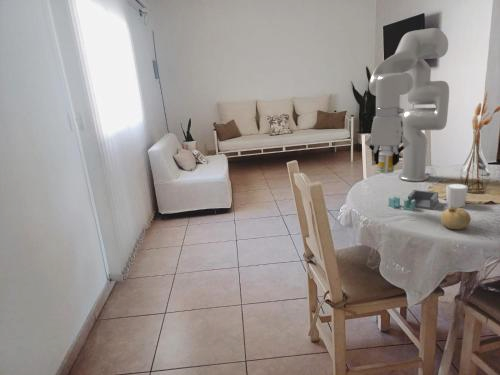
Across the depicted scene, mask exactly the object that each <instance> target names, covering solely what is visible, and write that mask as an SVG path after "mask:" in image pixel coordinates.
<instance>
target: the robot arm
mask: <svg viewBox="0 0 500 375" xmlns="http://www.w3.org/2000/svg"><path fill="white" fill-rule="evenodd" d="M448 49H449V39H448V37H447V35H446V34H445V33H444V31H442V30H441V29H439V28H436V27H430V28H425V29H418V30H417V29H415V30H412V31H408V32H406V33H405V34H404V35H403V36H402V37H401V39H400V41H399V43H398V45H397V48H396V50H395V52H394V54H393V55H392V54H391V55H390V56H389V57H388V58H386V59H384V60H383V61H382V62H380V63H379V64H378V65H377V66H376V67H375V68H374V70H373V72H372V74H371V77H370V79H369V83H368V90H369V92H370V94H371V95H372V96H375V116H374V117H373V119H372V120H373V121H372V124H371V133H370V134H371V135H370V136H369V137H368V139H367V140H366V141H365V142H364V143H365V145H366V146H367V147H368V148H369V149H370V150H371V152H372V153H373V160H374V163H375V165H378V156H379V152H380V149H381V146H393V151H394V154H393V165H394V166H396V165H398V163H399V162H400V154H401V152H403V153H402V173H399V174H398V179H399V180H401V181H405V182H424V181H427V180H429V179H430V176H429V174H427V173H426V167H427V152H428V151H427V148H428V147H427V146H428V139H427V137H426V135H425V134H424V132H423V131H442V130H444V129H445V128H446V126H447V122H448V114H449V113H448V112H449V102H450V86H449V84H448V82H446V81H444V80H431V74H432V71H431V70H432V68H431V67H430V65H429V63H427V62H426V60H428V59H437V58H438V59H439V58H442V57H444V56H445V55H446V54H447V52H448ZM406 94H407V102H408V103H409V105H415V106H417V105H418V106H421V105H423V106H424V105H426V106H427V105H434V106H435V107H412V108H409V109H408V108H407V109H406V110H405V108H401V106H400V102H401V100H400V97H401V96H403V95H406ZM402 113H403V114H402ZM400 114H402V115H400ZM401 144H402V145H401ZM400 145H401V146H400Z"/></svg>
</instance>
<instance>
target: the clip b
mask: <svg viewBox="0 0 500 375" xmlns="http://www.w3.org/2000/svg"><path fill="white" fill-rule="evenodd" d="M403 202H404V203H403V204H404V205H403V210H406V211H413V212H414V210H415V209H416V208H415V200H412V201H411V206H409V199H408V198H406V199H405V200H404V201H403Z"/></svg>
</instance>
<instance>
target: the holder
mask: <svg viewBox="0 0 500 375" xmlns="http://www.w3.org/2000/svg"><path fill="white" fill-rule="evenodd" d="M407 199H409V206H411V201H412V200H415V209H417V208H418V209H423V210H424V209H426V210H432V211H433V210H434V209H435V208H436V206H437V205H438V203H439V192H436V191H429V190H418V189H413V190H412V191H411V193H409V194H408V196H407Z"/></svg>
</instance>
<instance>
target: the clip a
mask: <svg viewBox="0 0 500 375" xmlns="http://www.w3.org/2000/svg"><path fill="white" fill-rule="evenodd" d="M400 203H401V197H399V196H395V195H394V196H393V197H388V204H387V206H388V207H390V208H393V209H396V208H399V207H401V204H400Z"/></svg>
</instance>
